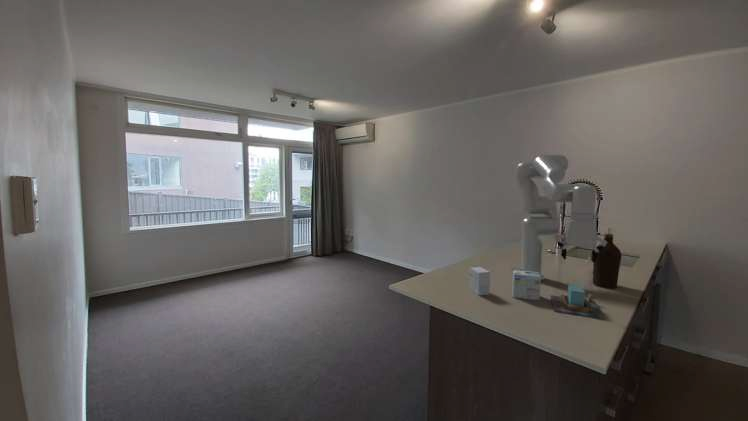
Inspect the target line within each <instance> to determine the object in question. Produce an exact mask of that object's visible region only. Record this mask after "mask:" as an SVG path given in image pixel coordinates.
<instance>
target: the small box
mask: <svg viewBox="0 0 748 421" xmlns="http://www.w3.org/2000/svg"><path fill="white" fill-rule="evenodd" d="M490 281H491V272H490V271H489V270H487V269H485V268H484V267H481V266H477V267H470V268H469V288H468V289H469V290H470V291H471V292H472V293H474V294H475V295H477V297H478V296H487V295H489V296H490V288H491V283H490Z"/></svg>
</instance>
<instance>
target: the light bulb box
mask: <svg viewBox="0 0 748 421" xmlns="http://www.w3.org/2000/svg"><path fill="white" fill-rule="evenodd" d="M541 283H542V281H541V276H540V274H539V272H530V271H518V270H513V271H512V284H511V285H512V287H511V288H512V289H511V290H512V292H511V294H512V298H514V299H523V300H533V301H541Z"/></svg>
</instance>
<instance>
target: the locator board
mask: <svg viewBox="0 0 748 421" xmlns="http://www.w3.org/2000/svg"><path fill="white" fill-rule="evenodd" d="M567 298H568V294H567V295H565V294H560V295H552V294H550V300H551V304H552V307H553V311H554V312H555V313H560V314H561V313H562V314H568V315H573V316H575V315H576V316H582V317H585V318H586V317H587V318H593V319H594V318H595V319H600V320H605V316H604V314H603V313H602V310H601V309H600V308H599V306H598V304H597V303H596V301H595V300H594V294H591V293H589V294H588V300H587V298H586V297H585V299H584V307H581V306H574V305H569V304H568V301H567Z"/></svg>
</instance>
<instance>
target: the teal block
mask: <svg viewBox="0 0 748 421" xmlns="http://www.w3.org/2000/svg"><path fill="white" fill-rule="evenodd" d="M567 295H568V298H567V301H568V304H569V305H574V306H581V307H584V299H585V298H586V292H585V290H584V288H583V287H582V286H581V285H575V284H574V285H573V284H568V287H567Z"/></svg>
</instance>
